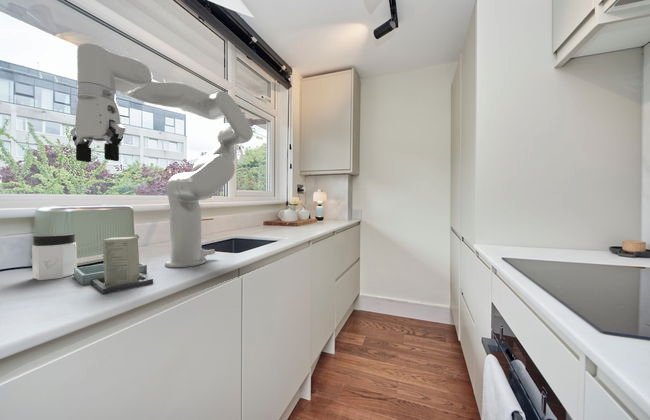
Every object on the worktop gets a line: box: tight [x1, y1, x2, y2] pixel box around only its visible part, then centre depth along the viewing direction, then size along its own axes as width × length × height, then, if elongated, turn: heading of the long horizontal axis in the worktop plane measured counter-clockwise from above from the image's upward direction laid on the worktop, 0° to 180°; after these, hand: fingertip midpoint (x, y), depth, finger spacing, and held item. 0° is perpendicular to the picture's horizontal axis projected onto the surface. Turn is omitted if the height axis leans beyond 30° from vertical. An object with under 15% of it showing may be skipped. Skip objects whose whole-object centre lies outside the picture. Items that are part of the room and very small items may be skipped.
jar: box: [31, 232, 78, 281], centre depth 72 cm, size 9×8×12 cm
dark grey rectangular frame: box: [90, 272, 154, 295], centre depth 65 cm, size 10×12×1 cm
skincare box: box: [102, 236, 141, 287], centre depth 65 cm, size 6×4×12 cm
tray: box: [73, 261, 148, 286], centre depth 73 cm, size 14×12×2 cm
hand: (97, 160), depth 67 cm, fingers open, 9 cm apart
